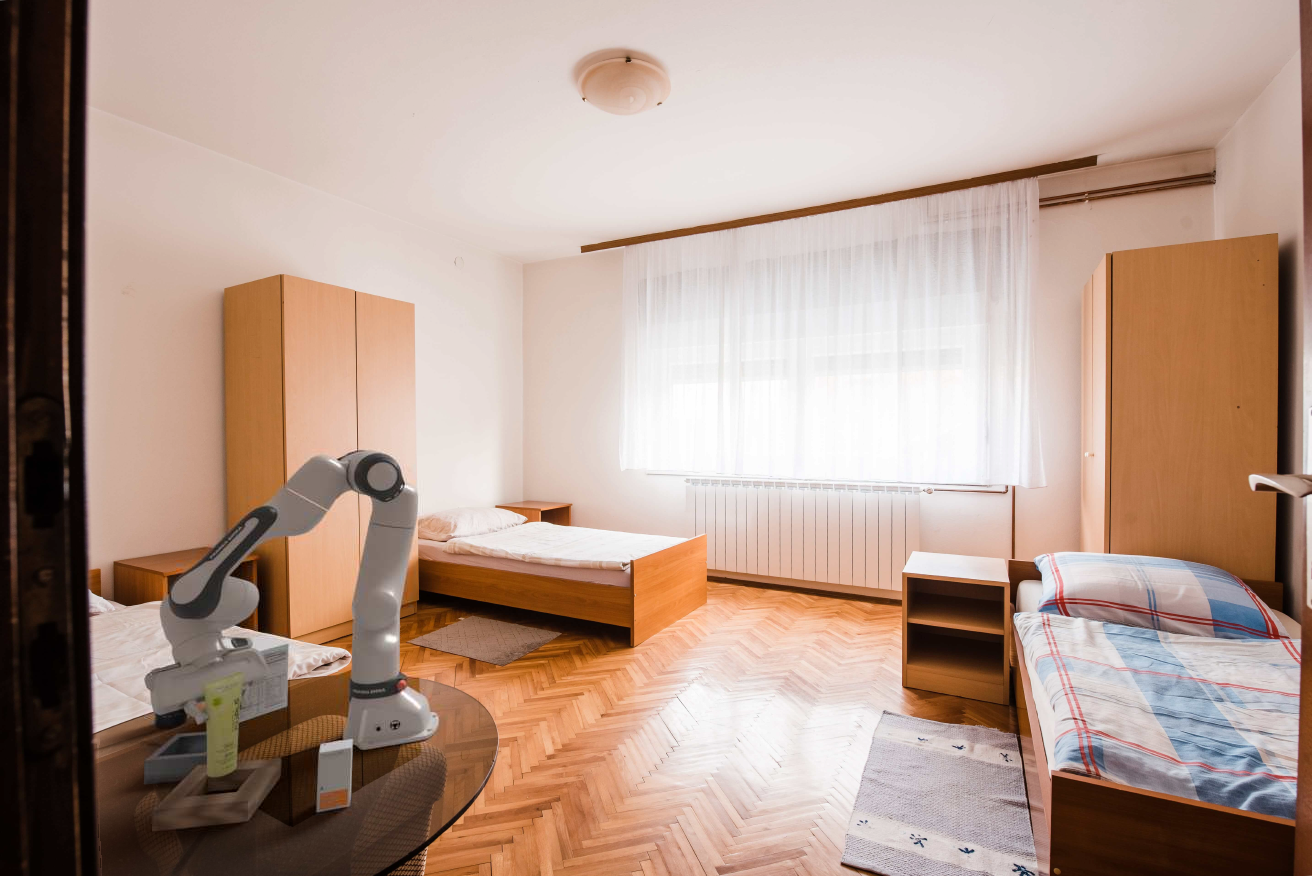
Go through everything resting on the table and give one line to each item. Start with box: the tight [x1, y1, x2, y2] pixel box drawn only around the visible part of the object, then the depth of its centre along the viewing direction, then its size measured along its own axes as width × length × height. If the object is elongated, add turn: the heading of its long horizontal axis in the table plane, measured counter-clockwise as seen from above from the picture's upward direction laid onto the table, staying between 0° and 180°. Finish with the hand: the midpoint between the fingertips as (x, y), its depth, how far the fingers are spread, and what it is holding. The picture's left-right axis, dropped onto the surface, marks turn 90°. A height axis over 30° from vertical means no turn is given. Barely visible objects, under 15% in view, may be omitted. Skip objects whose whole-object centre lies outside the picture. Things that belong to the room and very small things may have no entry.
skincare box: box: [316, 739, 354, 813], centre depth 122 cm, size 6×4×12 cm
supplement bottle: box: [153, 708, 189, 730], centre depth 155 cm, size 7×7×12 cm
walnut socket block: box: [151, 757, 282, 832], centre depth 122 cm, size 16×16×4 cm
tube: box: [204, 670, 244, 777], centre depth 122 cm, size 6×5×20 cm
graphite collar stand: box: [143, 731, 207, 785], centre depth 135 cm, size 12×12×5 cm
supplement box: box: [239, 635, 290, 723], centre depth 164 cm, size 13×13×18 cm
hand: (224, 714), depth 122 cm, fingers closed on tube, 6 cm apart
